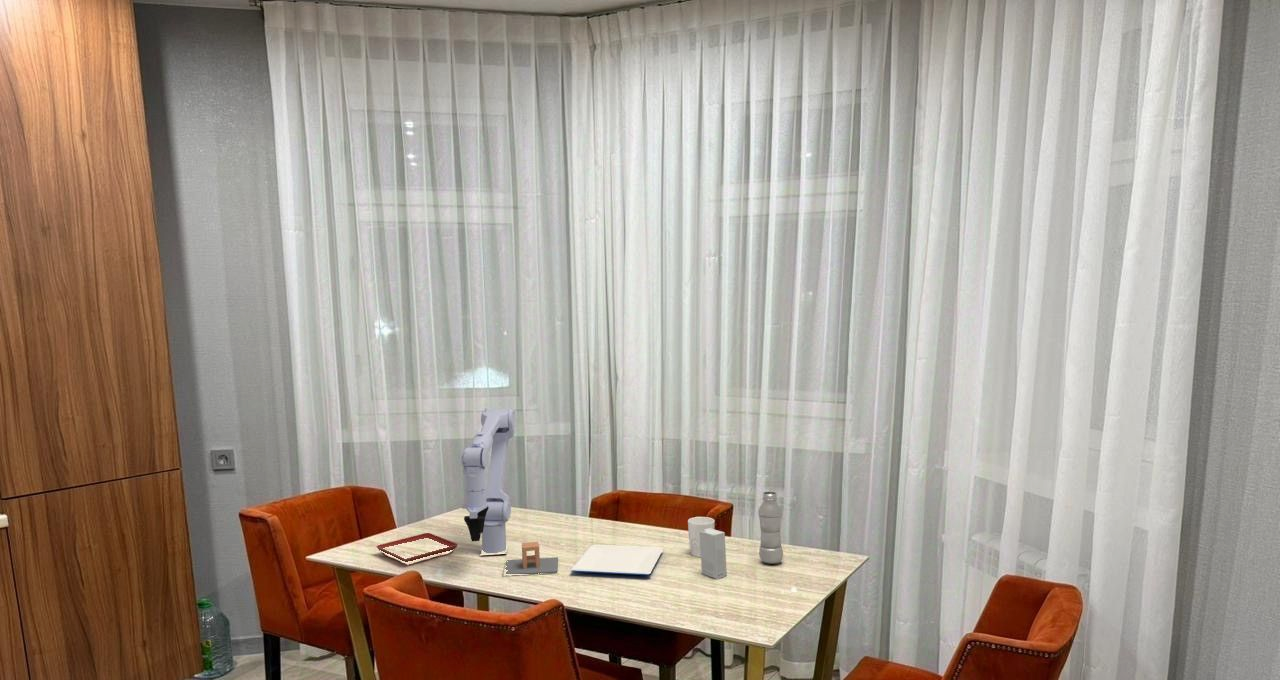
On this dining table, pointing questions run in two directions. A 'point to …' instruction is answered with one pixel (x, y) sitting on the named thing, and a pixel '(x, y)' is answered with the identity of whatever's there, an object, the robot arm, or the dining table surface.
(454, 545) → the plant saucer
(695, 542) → the white cup
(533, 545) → the notched tan cube
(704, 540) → the skincare box
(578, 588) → the dining table surface
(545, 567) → the rubber mat
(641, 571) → the plate
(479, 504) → the robot arm
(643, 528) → the dining table surface
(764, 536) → the plastic bottle
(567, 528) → the dining table surface
